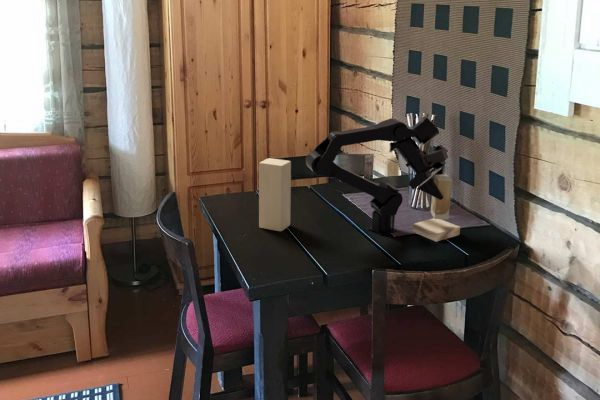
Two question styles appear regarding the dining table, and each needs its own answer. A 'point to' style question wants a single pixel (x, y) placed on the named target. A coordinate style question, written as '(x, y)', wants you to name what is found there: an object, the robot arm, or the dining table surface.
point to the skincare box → (442, 206)
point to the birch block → (436, 229)
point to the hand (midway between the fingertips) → (445, 195)
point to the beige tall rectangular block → (274, 194)
